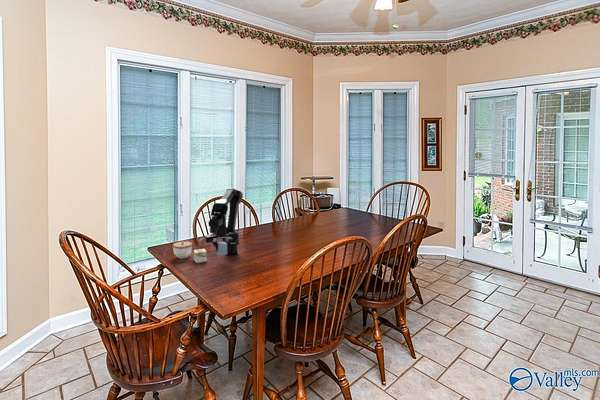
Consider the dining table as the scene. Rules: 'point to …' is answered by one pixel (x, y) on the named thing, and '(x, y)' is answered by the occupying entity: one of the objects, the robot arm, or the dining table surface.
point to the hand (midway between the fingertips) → (221, 251)
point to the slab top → (200, 253)
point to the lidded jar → (182, 249)
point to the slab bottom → (200, 259)
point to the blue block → (222, 248)
